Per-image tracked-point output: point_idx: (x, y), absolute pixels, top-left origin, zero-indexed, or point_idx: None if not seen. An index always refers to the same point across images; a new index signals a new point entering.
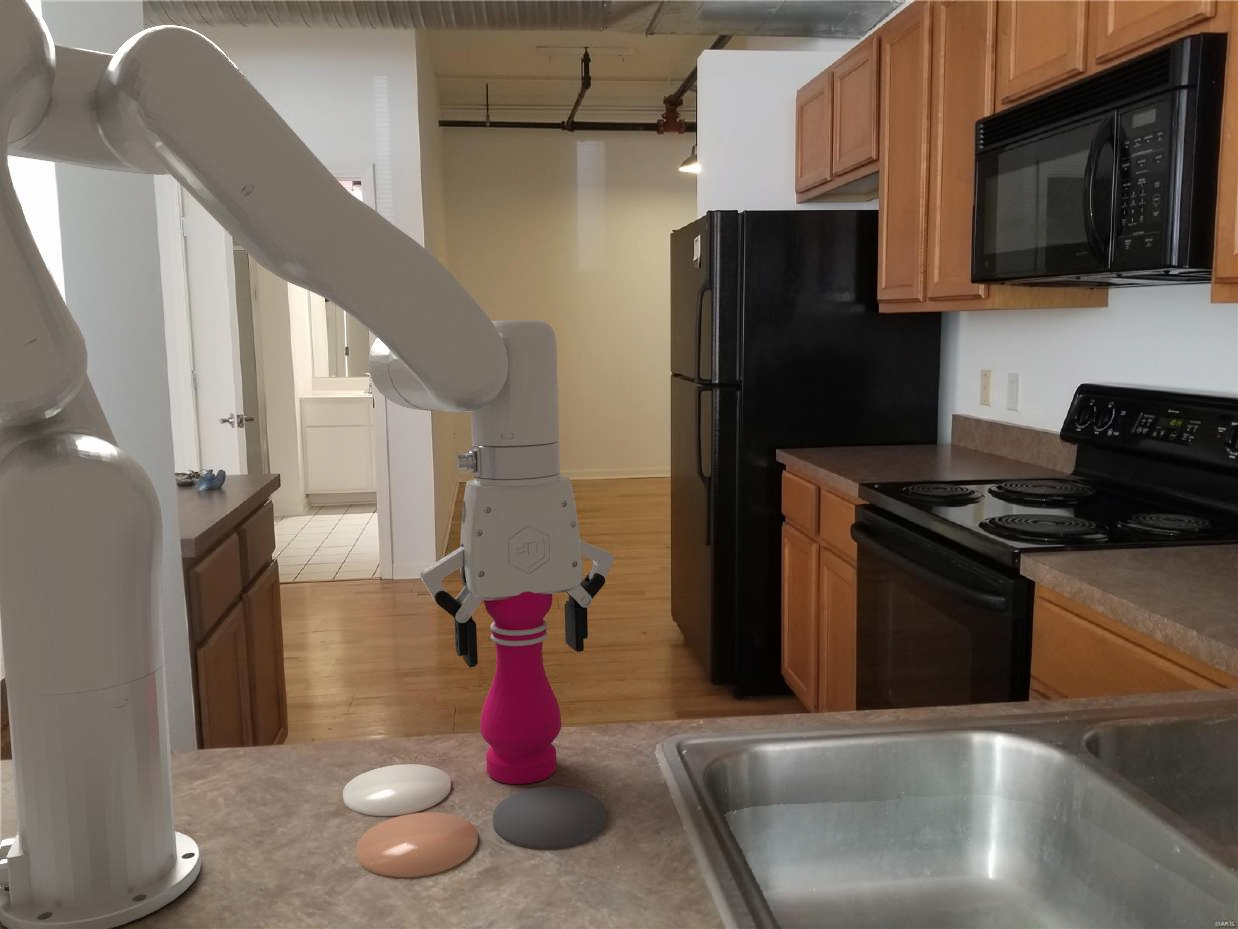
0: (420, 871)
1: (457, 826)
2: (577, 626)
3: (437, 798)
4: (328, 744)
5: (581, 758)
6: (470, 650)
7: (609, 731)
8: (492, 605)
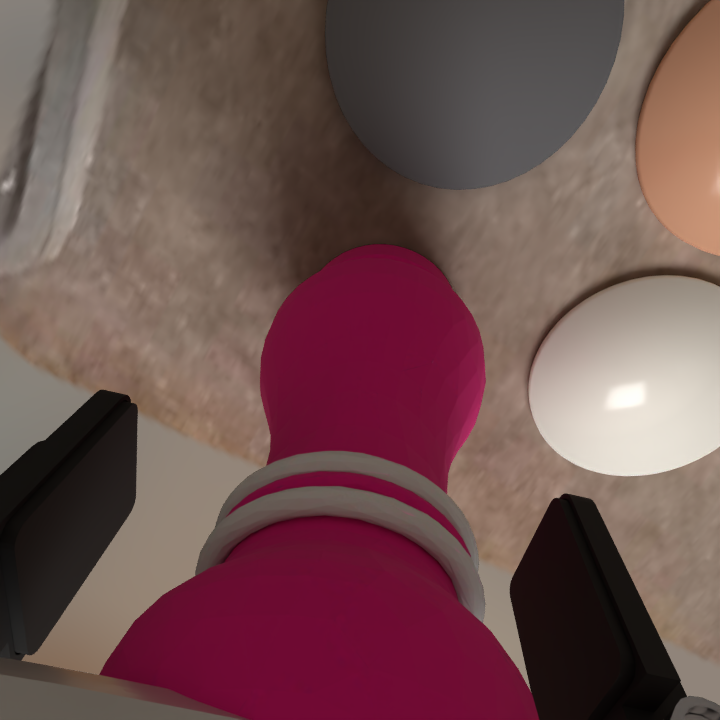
0: None
1: (677, 128)
2: (60, 467)
3: (619, 288)
4: None
5: (240, 294)
6: (613, 547)
7: (126, 373)
8: None
